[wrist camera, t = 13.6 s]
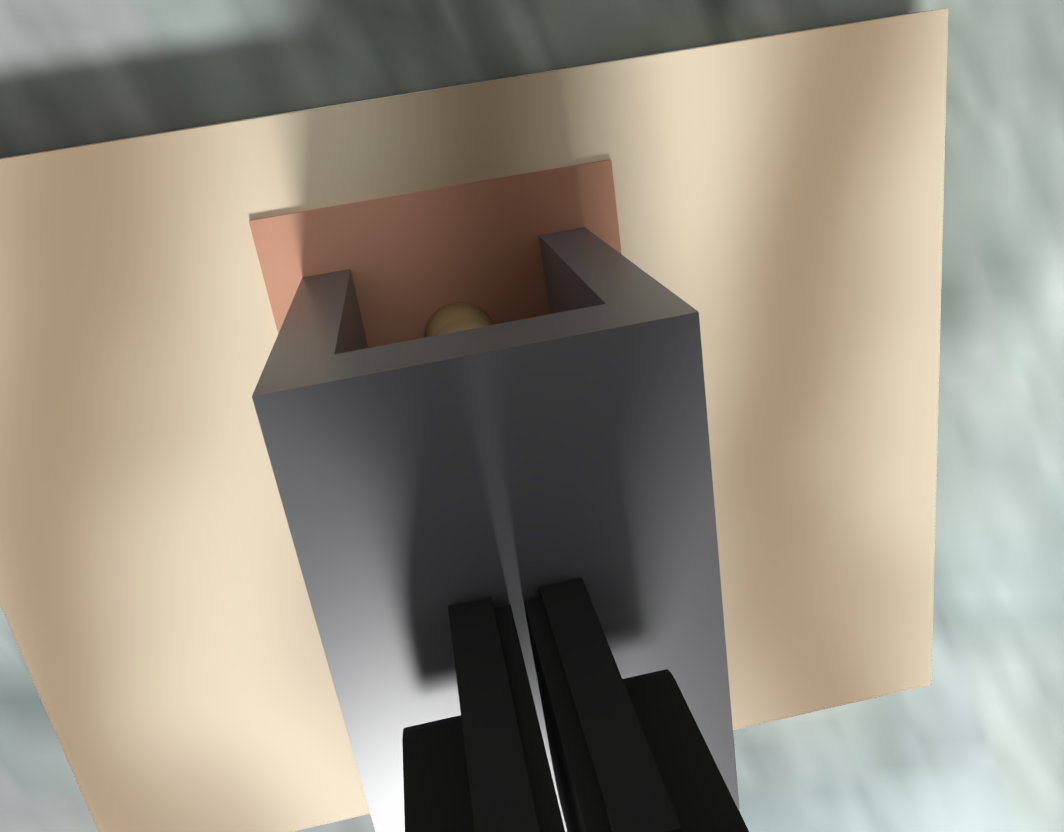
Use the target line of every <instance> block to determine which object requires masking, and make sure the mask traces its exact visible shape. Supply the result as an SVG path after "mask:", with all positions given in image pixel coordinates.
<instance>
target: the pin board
mask: <svg viewBox="0 0 1064 832" xmlns="http://www.w3.org/2000/svg"><path fill="white" fill-rule="evenodd" d="M947 37H948V8H947V9H939V10H931V11H924V12H916V13H908V14H902V15H896V16H889V17H883V18H877V19H870V20H864V21H858V22H852V23H845V24H839V25H833V26H827V27H820V28H814V29H808V30H801V31H795V32H789V33H783V34H776V35H770V36H764V37H757V38H751V39H745V40H739V41H732V42H726V43H720V44H713V45H707V46H701V47H695V48H688V49H682V50H676V51H670V52H663V53H657V54H651V55H644V56H638V57H632V58H626V59H619V60H613V61H607V62H600V63H594V64H588V65H582V66H575V67H569V68H563V69H556V70H550V71H544V72H538V73H531V74H525V75H519V76H513V77H506V78H500V79H494V80H487V81H481V82H475V83H469V84H462V85H456V86H450V87H443V88H437V89H431V90H425V91H418V92H412V93H406V94H399V95H393V96H387V97H381V98H374V99H368V100H362V101H356V102H349V103H343V104H337V105H330V106H324V107H318V108H312V109H305V110H299V111H293V112H286V113H280V114H274V115H268V116H261V117H255V118H249V119H242V120H236V121H230V122H224V123H217V124H211V125H205V126H199V127H192V128H186V129H180V130H173V131H167V132H161V133H155V134H148V135H142V136H136V137H129V138H123V139H117V140H111V141H104V142H98V143H92V144H85V145H79V146H73V147H67V148H60V149H54V150H48V151H42V152H35V153H29V154H23V155H16V156H10V157H4V158H0V606H1V608H2V611H3V613H4V615H5V618H6V620H7V622H8V625H9V627H10V629H11V631H12V634H13V636H14V638H15V641H16V643H17V645H18V648H19V650H20V652H21V654H22V657H23V659H24V661H25V664H26V666H27V668H28V671H29V673H30V675H31V678H32V680H33V682H34V684H35V687H36V689H37V691H38V694H39V696H40V698H41V701H42V703H43V705H44V708H45V710H46V712H47V714H48V717H49V719H50V721H51V724H52V726H53V728H54V731H55V733H56V735H57V738H58V740H59V742H60V744H61V747H62V749H63V751H64V754H65V756H66V758H67V761H68V763H69V765H70V767H71V770H72V772H73V774H74V777H75V779H76V781H77V784H78V786H79V788H80V791H81V793H82V795H83V797H84V800H85V802H86V804H87V807H88V809H89V811H90V814H91V816H92V818H93V821H94V823H95V825H96V827H97V830H98V832H293V831H297V830H301V829H306V828H310V827H314V826H319V825H323V824H327V823H332V822H336V821H341V820H345V819H349V818H354V817H358V816H362V815H367V814H370V811H369V807H368V804H367V800H366V797H365V793H364V789H363V786H362V782H361V779H360V775H359V772H358V768H357V765H356V761H355V758H354V754H353V751H352V747H351V744H350V740H349V737H348V733H347V730H346V726H345V723H344V719H343V716H342V712H341V709H340V705H339V702H338V698H337V694H336V691H335V687H334V684H333V680H332V677H331V673H330V670H329V666H328V663H327V659H326V656H325V652H324V649H323V645H322V642H321V638H320V635H319V631H318V628H317V624H316V621H315V617H314V614H313V610H312V607H311V603H310V600H309V596H308V592H307V589H306V585H305V582H304V578H303V575H302V571H301V568H300V564H299V561H298V557H297V554H296V550H295V547H294V543H293V540H292V536H291V533H290V529H289V526H288V522H287V519H286V515H285V512H284V508H283V505H282V501H281V497H280V494H279V490H278V487H277V483H276V480H275V476H274V473H273V469H272V466H271V462H270V459H269V455H268V452H267V448H266V445H265V441H264V438H263V434H262V431H261V427H260V424H259V420H258V417H257V413H256V410H255V406H254V402H253V399H252V395H253V392H254V390H255V388H256V385H257V383H258V381H259V378H260V376H261V374H262V371H263V369H264V367H265V364H266V362H267V359H268V357H269V355H270V352H271V350H272V348H273V345H274V343H275V341H276V338H277V336H278V334H279V331H280V329H281V326H282V324H283V322H284V319H285V317H286V315H287V312H288V310H289V308H290V305H291V303H292V301H293V298H294V296H295V294H296V291H297V289H298V286H299V284H300V282H301V279H302V277H308V276H313V275H319V274H325V273H330V272H336V271H341V270H347V269H351V273H352V278H353V282H354V287H355V291H356V295H357V300H358V304H359V309H360V313H361V317H362V322H363V326H364V331H365V335H366V339H367V344H368V348H372V347H377V346H382V345H388V344H393V343H398V342H404V341H409V340H414V339H420V338H425V337H431V336H436V335H441V334H447V333H452V332H457V331H463V330H468V329H473V328H479V327H484V326H489V325H495V324H500V323H506V322H511V321H516V320H522V319H527V318H532V317H538V316H543V315H548V314H550V310H549V303H548V296H547V289H546V282H545V275H544V269H543V262H542V255H541V248H540V241H539V235H543V234H549V233H554V232H560V231H565V230H571V229H577V228H582V227H585V228H587V229H588V230H589V231H591V232H592V233H593V234H595V235H596V236H597V237H599V238H600V239H601V240H603V241H604V242H605V243H607V244H608V245H609V246H611V247H612V248H613V249H615V250H616V251H618V252H619V253H620V254H622V255H623V256H624V257H626V258H627V259H628V260H630V261H631V262H632V263H634V264H635V265H636V266H638V267H639V268H640V269H642V270H643V271H644V272H646V273H647V274H648V275H650V276H651V277H653V278H654V279H655V280H657V281H658V282H659V283H661V284H662V285H663V286H665V287H666V288H667V289H669V290H670V291H671V292H673V293H674V294H675V295H677V296H678V297H679V298H681V299H682V300H683V301H685V302H686V303H688V304H689V305H690V306H692V307H693V308H694V309H696V310H697V311H698V312H699V321H700V333H701V345H702V357H703V370H704V382H705V394H706V406H707V419H708V431H709V443H710V455H711V468H712V480H713V492H714V504H715V517H716V529H717V541H718V553H719V566H720V578H721V590H722V602H723V615H724V627H725V639H726V651H727V664H728V676H729V688H730V700H731V713H732V725H733V730H736V729H741V728H745V727H749V726H754V725H758V724H762V723H767V722H771V721H775V720H780V719H784V718H788V717H793V716H797V715H801V714H806V713H810V712H814V711H819V710H823V709H828V708H832V707H836V706H841V705H845V704H849V703H854V702H858V701H862V700H867V699H871V698H875V697H880V696H884V695H888V694H893V693H897V692H901V691H906V690H910V689H914V688H919V687H923V686H928V685H931V678H932V638H933V598H934V558H935V518H936V478H937V438H938V398H939V358H940V318H941V278H942V238H943V197H944V157H945V117H946V77H947Z"/></svg>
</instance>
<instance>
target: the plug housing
mask: <svg viewBox="0 0 1064 832" xmlns="http://www.w3.org/2000/svg"><path fill="white" fill-rule="evenodd" d="M539 241H540V248H541V255H542V262H543V269H544V275H545V282H546V289H547V296H548V303H549V310H550V314H548V315H543V316H538V317H532V318H527V319H522V320H516V321H511V322H506V323H500V324H495V325H489V326H484V327H479V328H473V329H468V330H463V331H457V332H452V333H447V334H441V335H436V336H431V337H425V338H420V339H414V340H409V341H404V342H398V343H393V344H388V345H382V346H377V347H372V348H368V344H367V339H366V335H365V331H364V326H363V322H362V317H361V313H360V309H359V304H358V300H357V295H356V291H355V287H354V282H353V278H352V273H351V269H347V270H341V271H336V272H330V273H325V274H319V275H313V276H308V277H302V279H301V282H300V284H299V286H298V289H297V291H296V294H295V296H294V298H293V301H292V303H291V305H290V308H289V310H288V312H287V315H286V317H285V319H284V322H283V324H282V326H281V329H280V331H279V334H278V336H277V338H276V341H275V343H274V345H273V348H272V350H271V352H270V355H269V357H268V359H267V362H266V364H265V367H264V369H263V371H262V374H261V376H260V378H259V381H258V383H257V385H256V388H255V390H254V392H253V395H252V399H253V402H254V406H255V410H256V413H257V417H258V420H259V424H260V427H261V431H262V434H263V438H264V441H265V445H266V448H267V452H268V455H269V459H270V462H271V466H272V469H273V473H274V476H275V480H276V483H277V487H278V490H279V494H280V497H281V501H282V505H283V508H284V512H285V515H286V519H287V522H288V526H289V529H290V533H291V536H292V540H293V543H294V547H295V550H296V554H297V557H298V561H299V564H300V568H301V571H302V575H303V578H304V582H305V585H306V589H307V592H308V596H309V600H310V603H311V607H312V610H313V614H314V617H315V621H316V624H317V628H318V631H319V635H320V638H321V642H322V645H323V649H324V652H325V656H326V659H327V663H328V666H329V670H330V673H331V677H332V680H333V684H334V687H335V691H336V694H337V698H338V702H339V705H340V709H341V712H342V716H343V719H344V723H345V726H346V730H347V733H348V737H349V740H350V744H351V747H352V751H353V754H354V758H355V761H356V765H357V768H358V772H359V775H360V779H361V782H362V786H363V789H364V793H365V797H366V800H367V804H368V807H369V811H370V814H371V818H372V821H373V825H374V828H375V832H405V817H404V781H403V745H402V738H403V729H404V728H406V727H410V726H415V725H419V724H424V723H428V722H432V721H437V720H441V719H446V718H450V717H455V716H459V715H461V711H460V703H459V694H458V686H457V678H456V670H455V661H454V653H453V645H452V636H451V628H450V620H449V612H448V605H452V604H457V603H461V602H466V601H471V600H475V599H480V598H485V597H490V596H491V598H492V603H493V608H495V607H500V606H504V605H509V604H510V605H511V608H512V612H513V616H514V621H515V625H516V629H517V633H518V637H519V641H520V646H521V650H522V654H523V658H524V662H525V666H526V671H527V675H528V679H529V683H530V687H531V691H532V695H533V700H534V704H535V708H536V712H537V716H538V720H539V725H540V729H541V733H542V737H543V741H544V745H545V750H546V754H547V758H548V762H549V766H550V770H551V775H552V779H553V783H554V787H555V791H556V795H557V800H558V804H559V808H560V812H561V816H562V820H563V825H564V829H565V832H567V829H566V824H565V820H564V816H563V812H562V808H561V804H560V800H559V795H558V791H557V786H556V781H555V776H554V771H553V766H552V760H551V754H550V748H549V743H548V737H547V731H546V726H545V720H544V714H543V709H542V703H541V697H540V692H539V686H538V680H537V675H536V669H535V663H534V657H533V652H532V646H531V640H530V635H529V629H528V623H527V618H526V612H525V606H524V601H528V600H533V599H537V598H540V597H539V589H538V588H539V586H541V585H546V584H551V583H556V582H560V581H565V580H570V579H574V578H579V577H581V578H582V579H583V581H584V584H585V586H586V589H587V591H588V594H589V596H590V599H591V601H592V604H593V606H594V609H595V611H596V614H597V616H598V619H599V621H600V624H601V626H602V629H603V632H604V634H605V637H606V639H607V642H608V644H609V647H610V649H611V652H612V654H613V657H614V659H615V662H616V664H617V667H618V669H619V672H620V674H621V677H622V679H625V678H629V677H634V676H638V675H643V674H647V673H652V672H656V671H661V670H665V669H668V670H669V671H670V672H671V673H672V675H673V677H674V678H675V680H676V682H677V684H678V686H679V688H680V690H681V692H682V694H683V697H684V699H685V701H686V703H687V705H688V707H689V709H690V711H691V713H692V715H693V717H694V719H695V721H696V723H697V725H698V728H699V730H700V732H701V734H702V736H703V738H704V740H705V742H706V744H707V746H708V748H709V750H710V752H711V754H712V756H713V759H714V761H715V763H716V765H717V767H718V769H719V771H720V773H721V775H722V777H723V779H724V781H725V783H726V785H727V787H728V789H729V792H730V794H731V796H732V798H733V800H734V802H735V804H736V806H737V808H738V810H739V798H738V786H737V774H736V762H735V749H734V737H733V725H732V713H731V700H730V688H729V676H728V664H727V651H726V639H725V627H724V615H723V602H722V590H721V578H720V566H719V553H718V541H717V529H716V517H715V504H714V492H713V480H712V468H711V455H710V443H709V431H708V419H707V406H706V394H705V382H704V370H703V357H702V345H701V333H700V321H699V312H698V311H697V310H696V309H694V308H693V307H692V306H690V305H689V304H688V303H686V302H685V301H683V300H682V299H681V298H679V297H678V296H677V295H675V294H674V293H673V292H671V291H670V290H669V289H667V288H666V287H665V286H663V285H662V284H661V283H659V282H658V281H657V280H655V279H654V278H653V277H651V276H650V275H648V274H647V273H646V272H644V271H643V270H642V269H640V268H639V267H638V266H636V265H635V264H634V263H632V262H631V261H630V260H628V259H627V258H626V257H624V256H623V255H622V254H620V253H619V252H618V251H616V250H615V249H613V248H612V247H611V246H609V245H608V244H607V243H605V242H604V241H603V240H601V239H600V238H599V237H597V236H596V235H595V234H593V233H592V232H591V231H589V230H588V229H587V228H585V227H582V228H577V229H571V230H565V231H560V232H554V233H549V234H543V235H539ZM739 812H740V811H739Z"/></svg>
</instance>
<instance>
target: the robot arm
mask: <svg viewBox="0 0 1064 832" xmlns="http://www.w3.org/2000/svg"><path fill="white" fill-rule="evenodd" d="M538 589H539V597H540V598H537V599H533V600H528V601H524V606H525V612H526V618H527V623H528V629H529V635H530V640H531V646H532V652H533V657H534V663H535V669H536V675H537V680H538V686H539V692H540V697H541V703H542V709H543V714H544V720H545V726H546V731H547V737H548V743H549V748H550V754H551V760H552V766H553V771H554V776H555V781H556V786H557V791H558V795H559V800H560V804H561V808H562V812H563V816H564V820H565V824H566V829H567V832H749V831H748V829H747V827H746V825H745V823H744V820H743V818H742V816H741V814H740V812H739V810H738V808H737V806H736V804H735V802H734V800H733V798H732V796H731V794H730V792H729V789H728V787H727V785H726V783H725V781H724V779H723V777H722V775H721V773H720V771H719V769H718V767H717V765H716V763H715V761H714V759H713V756H712V754H711V752H710V750H709V748H708V746H707V744H706V742H705V740H704V738H703V736H702V734H701V732H700V730H699V728H698V725H697V723H696V721H695V719H694V717H693V715H692V713H691V711H690V709H689V707H688V705H687V703H686V701H685V699H684V697H683V694H682V692H681V690H680V688H679V686H678V684H677V682H676V680H675V678H674V677H673V675H672V673H671V672H670V671H669V670H668V669H665V670H661V671H656V672H652V673H647V674H643V675H638V676H634V677H629V678H625V679H622V677H621V674H620V672H619V669H618V667H617V664H616V662H615V659H614V657H613V654H612V652H611V649H610V647H609V644H608V642H607V639H606V637H605V634H604V632H603V629H602V626H601V624H600V621H599V619H598V616H597V614H596V611H595V609H594V606H593V604H592V601H591V599H590V596H589V594H588V591H587V589H586V586H585V584H584V581H583V579H582V578H581V577H579V578H574V579H570V580H565V581H560V582H556V583H551V584H546V585H541V586H539V588H538ZM448 612H449V620H450V628H451V636H452V645H453V653H454V661H455V670H456V678H457V686H458V694H459V703H460V711H461V715H459V716H455V717H450V718H446V719H441V720H437V721H432V722H428V723H424V724H419V725H415V726H410V727H406V728H404V729H403V738H402V745H403V781H404V817H405V832H565V829H564V825H563V820H562V816H561V812H560V808H559V804H558V800H557V795H556V791H555V787H554V783H553V779H552V775H551V770H550V766H549V762H548V758H547V754H546V750H545V745H544V741H543V737H542V733H541V729H540V725H539V720H538V716H537V712H536V708H535V704H534V700H533V695H532V691H531V687H530V683H529V679H528V675H527V671H526V666H525V662H524V658H523V654H522V650H521V646H520V641H519V637H518V633H517V629H516V625H515V621H514V616H513V612H512V608H511V605H510V604H509V605H504V606H500V607H495V608H493V603H492V598H491V596H490V597H485V598H480V599H475V600H471V601H466V602H461V603H457V604H452V605H448Z"/></svg>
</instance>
